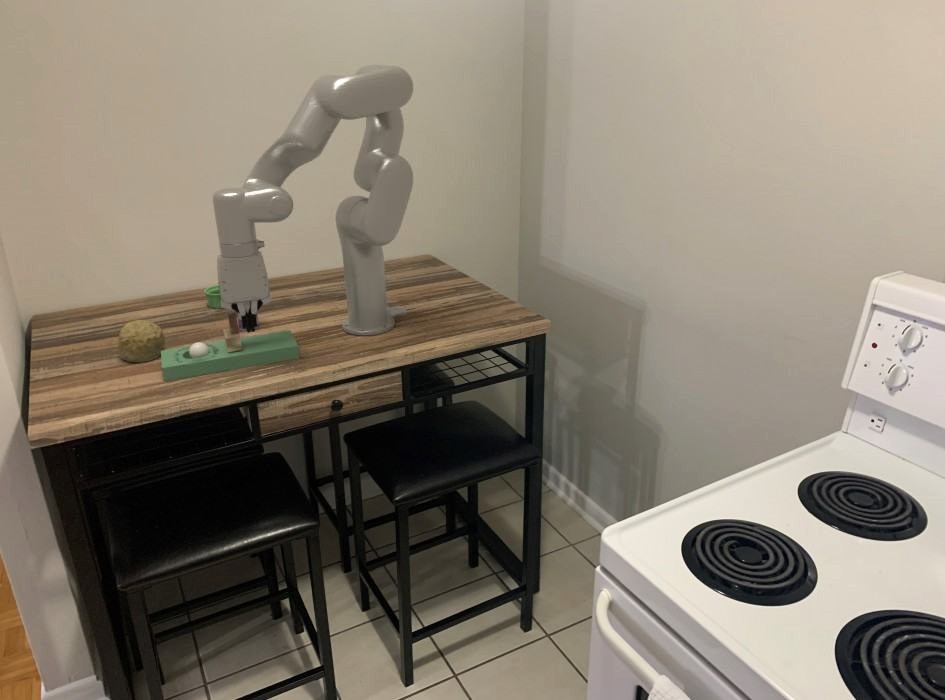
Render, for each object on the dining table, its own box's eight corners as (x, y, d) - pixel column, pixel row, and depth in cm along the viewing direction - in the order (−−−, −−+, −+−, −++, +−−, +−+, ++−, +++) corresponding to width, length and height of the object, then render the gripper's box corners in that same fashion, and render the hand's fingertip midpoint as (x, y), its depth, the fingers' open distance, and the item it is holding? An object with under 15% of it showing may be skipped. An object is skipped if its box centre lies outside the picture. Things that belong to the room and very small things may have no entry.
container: (246, 323, 182) (237, 265, 176) (262, 325, 181) (254, 266, 175) (235, 330, 178) (226, 271, 172) (252, 332, 177) (243, 272, 171)
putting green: (291, 342, 170) (290, 330, 169) (299, 358, 162) (298, 345, 161) (163, 363, 161) (160, 350, 160) (164, 381, 152) (161, 368, 151)
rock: (161, 358, 172) (140, 321, 171) (179, 346, 164) (156, 307, 163) (124, 376, 165) (101, 337, 164) (140, 364, 157) (116, 323, 156)
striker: (239, 340, 163) (234, 310, 160) (242, 350, 158) (237, 318, 155) (225, 342, 162) (220, 312, 159) (227, 352, 157) (222, 321, 154)
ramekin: (246, 298, 200) (243, 283, 198) (235, 309, 192) (233, 294, 190) (213, 298, 200) (211, 283, 199) (201, 310, 192) (199, 294, 190)
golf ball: (192, 359, 160) (210, 353, 161) (193, 366, 156) (212, 360, 158) (186, 342, 158) (204, 337, 159) (186, 349, 155) (206, 343, 156)
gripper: (272, 240, 159) (282, 319, 166) (200, 248, 154) (213, 329, 161) (278, 249, 153) (287, 330, 160) (202, 257, 147) (216, 341, 154)
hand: (250, 330), depth 160 cm, fingers closed
